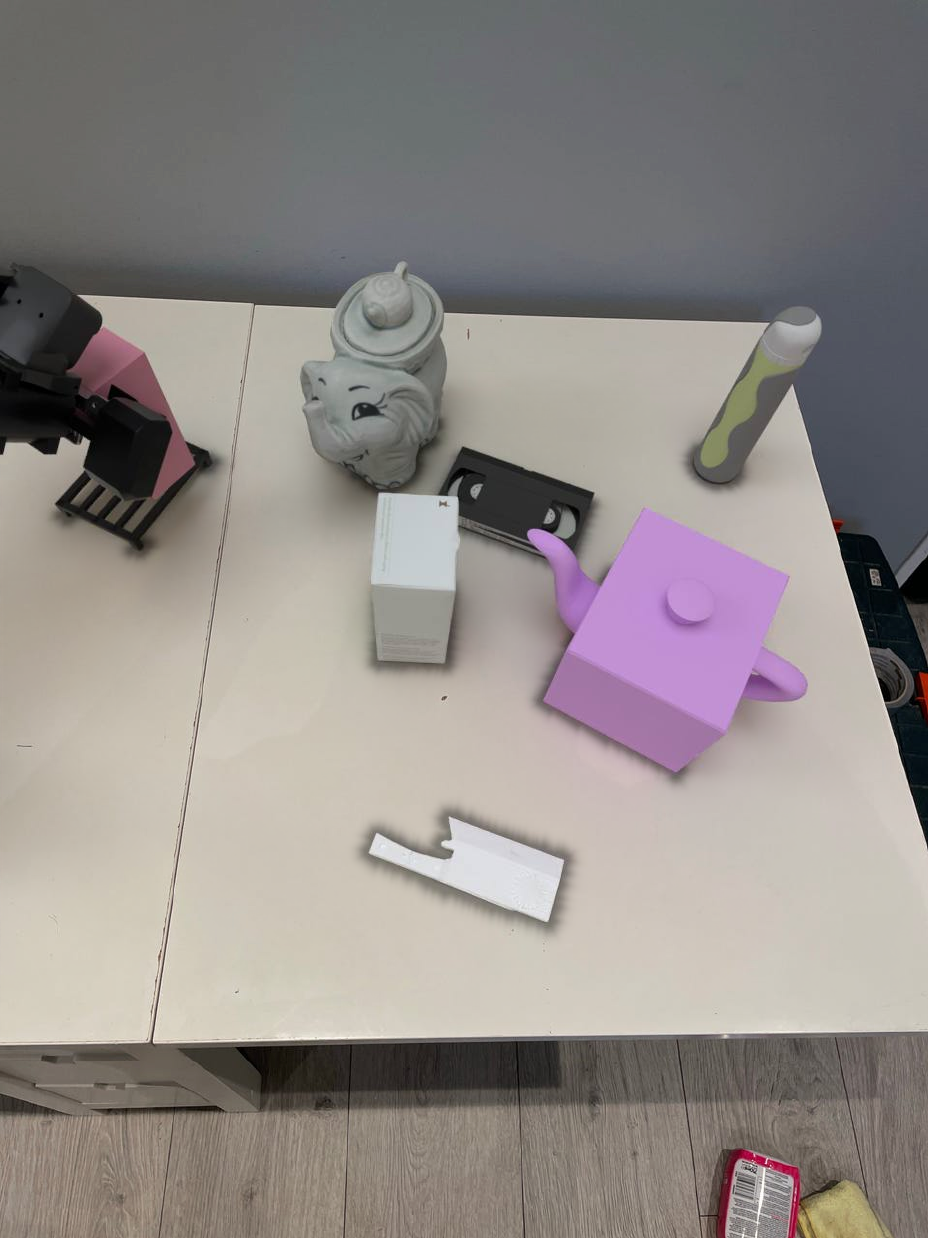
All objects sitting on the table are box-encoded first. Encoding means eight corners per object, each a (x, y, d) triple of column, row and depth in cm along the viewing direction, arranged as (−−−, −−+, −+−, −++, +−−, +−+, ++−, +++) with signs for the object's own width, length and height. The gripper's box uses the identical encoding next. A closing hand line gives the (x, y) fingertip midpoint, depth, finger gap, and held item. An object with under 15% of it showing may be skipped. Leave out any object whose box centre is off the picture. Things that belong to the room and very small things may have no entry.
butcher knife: (393, 795, 61) (392, 792, 60) (564, 861, 60) (566, 859, 59) (368, 854, 59) (368, 852, 58) (545, 924, 58) (548, 923, 57)
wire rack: (139, 551, 70) (133, 542, 68) (62, 514, 71) (54, 503, 70) (212, 462, 75) (208, 450, 73) (139, 428, 76) (133, 416, 75)
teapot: (546, 541, 73) (572, 451, 60) (783, 659, 69) (865, 589, 56) (472, 663, 67) (485, 592, 54) (728, 801, 63) (806, 758, 50)
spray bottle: (711, 492, 77) (800, 345, 59) (682, 458, 78) (761, 306, 60) (746, 474, 78) (844, 325, 60) (717, 441, 80) (804, 287, 62)
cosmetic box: (383, 583, 70) (375, 486, 56) (453, 587, 70) (461, 491, 56) (376, 665, 66) (365, 583, 52) (449, 668, 67) (457, 588, 53)
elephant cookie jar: (335, 537, 72) (309, 403, 55) (276, 427, 77) (236, 274, 60) (482, 476, 76) (500, 334, 59) (416, 376, 81) (415, 219, 64)
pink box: (154, 500, 64) (92, 391, 53) (119, 476, 65) (51, 364, 54) (195, 464, 66) (144, 351, 55) (160, 441, 67) (103, 326, 56)
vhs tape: (432, 516, 74) (432, 505, 72) (461, 458, 77) (462, 446, 75) (566, 565, 72) (570, 555, 70) (590, 504, 75) (594, 492, 73)
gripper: (97, 339, 42) (263, 367, 56) (-123, 202, 45) (85, 262, 60) (50, 512, 46) (217, 497, 60) (-148, 373, 49) (53, 390, 64)
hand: (142, 408), depth 61 cm, fingers closed on pink box, 4 cm apart
